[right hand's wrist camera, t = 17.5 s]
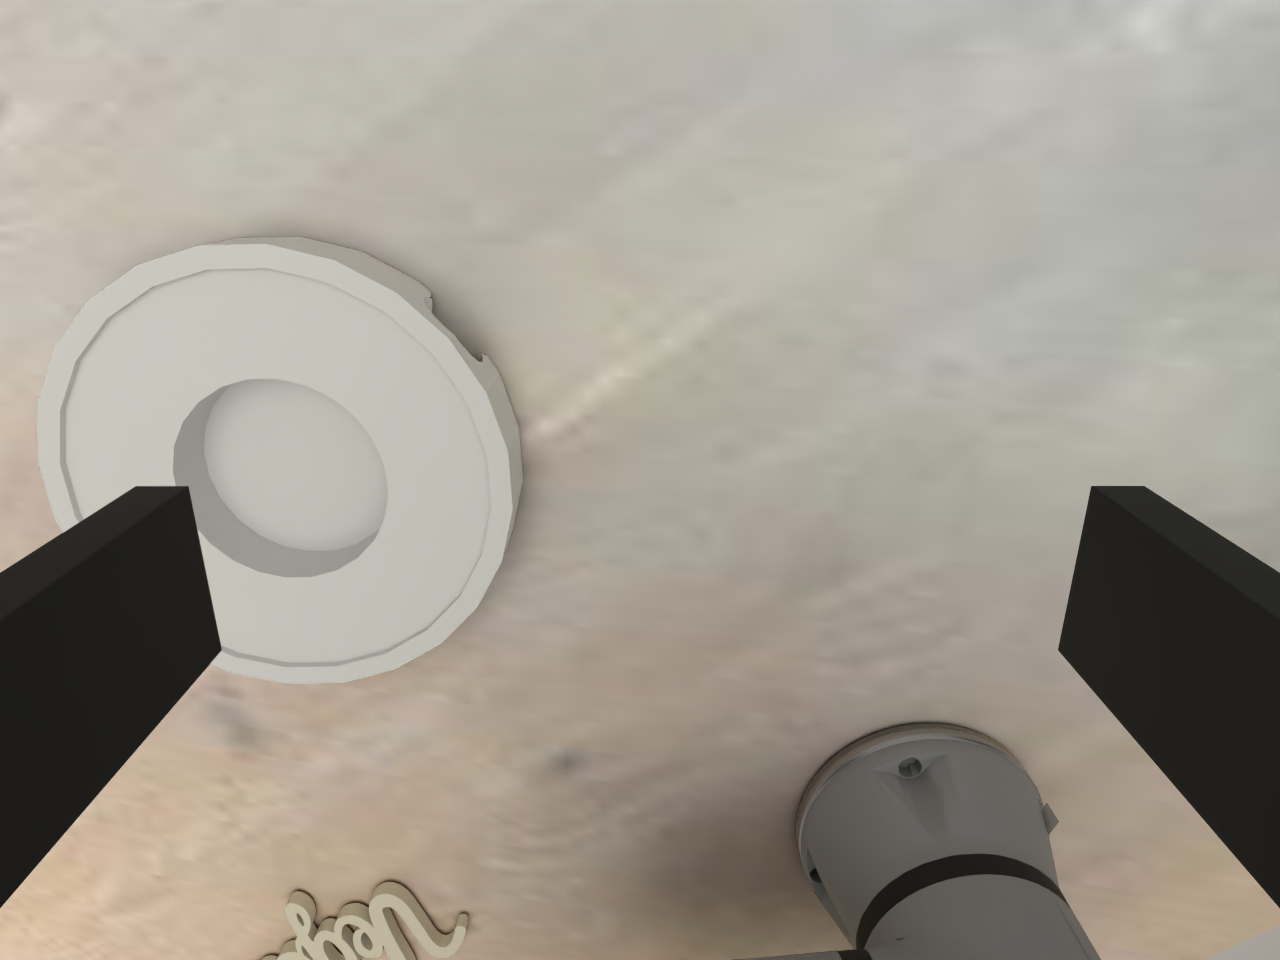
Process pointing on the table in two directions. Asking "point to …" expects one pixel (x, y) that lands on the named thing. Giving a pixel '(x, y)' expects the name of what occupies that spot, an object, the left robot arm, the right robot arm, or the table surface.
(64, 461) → the ashtray
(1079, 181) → the table surface
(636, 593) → the table surface
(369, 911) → the decorative sign
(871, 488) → the table surface
